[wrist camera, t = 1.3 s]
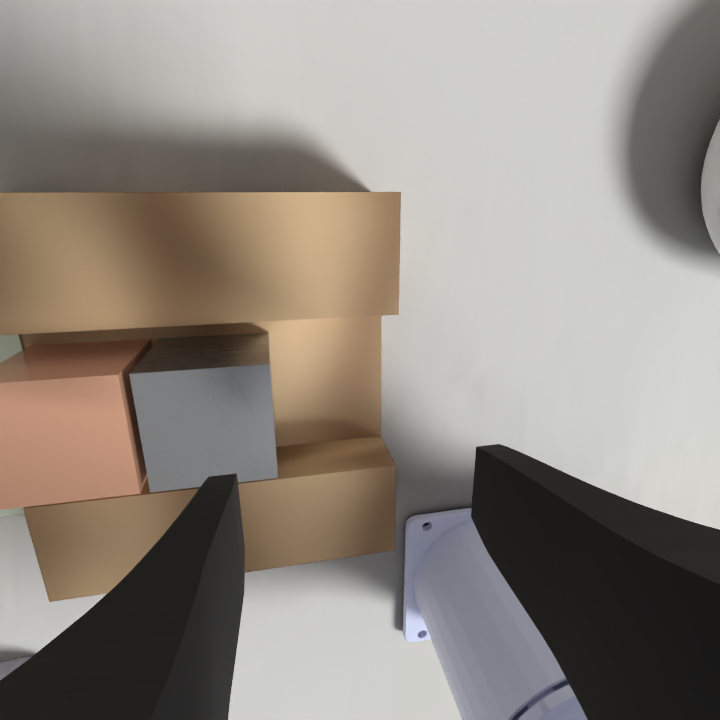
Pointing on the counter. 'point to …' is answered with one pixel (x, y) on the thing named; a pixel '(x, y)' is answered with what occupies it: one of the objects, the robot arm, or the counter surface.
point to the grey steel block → (206, 409)
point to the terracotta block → (70, 423)
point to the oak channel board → (220, 317)
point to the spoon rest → (712, 188)
